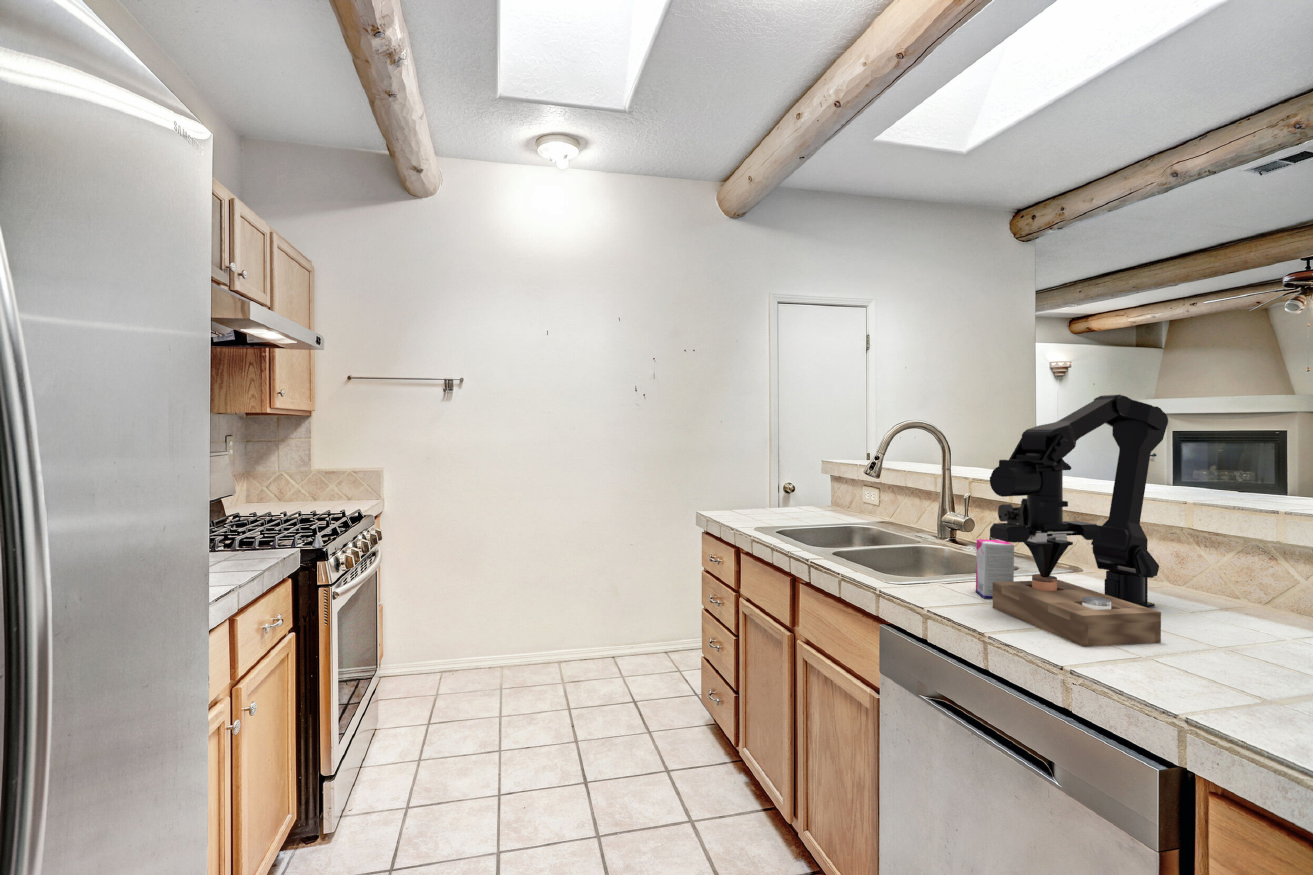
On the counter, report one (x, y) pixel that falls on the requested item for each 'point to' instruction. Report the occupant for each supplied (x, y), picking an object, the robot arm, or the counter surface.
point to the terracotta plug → (1044, 583)
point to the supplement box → (993, 565)
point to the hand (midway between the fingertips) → (1044, 576)
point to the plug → (1096, 603)
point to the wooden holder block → (1078, 614)
